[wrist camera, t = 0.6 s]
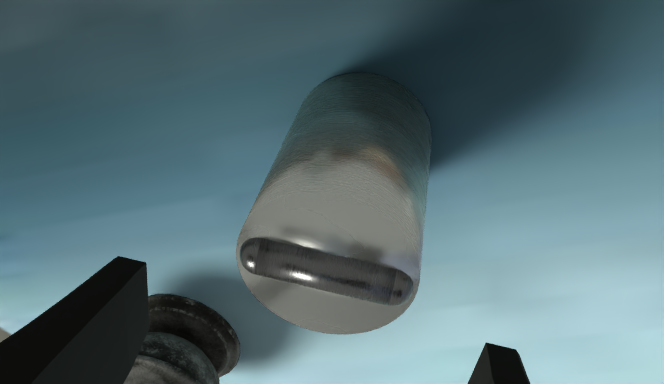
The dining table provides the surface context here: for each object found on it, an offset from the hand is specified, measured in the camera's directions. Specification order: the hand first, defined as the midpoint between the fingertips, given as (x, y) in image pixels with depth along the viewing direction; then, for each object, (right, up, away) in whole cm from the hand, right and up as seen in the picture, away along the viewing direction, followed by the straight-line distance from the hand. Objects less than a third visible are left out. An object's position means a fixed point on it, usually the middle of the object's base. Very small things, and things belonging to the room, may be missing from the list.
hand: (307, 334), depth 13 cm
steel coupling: (+2, +5, +7) cm, 8 cm away
